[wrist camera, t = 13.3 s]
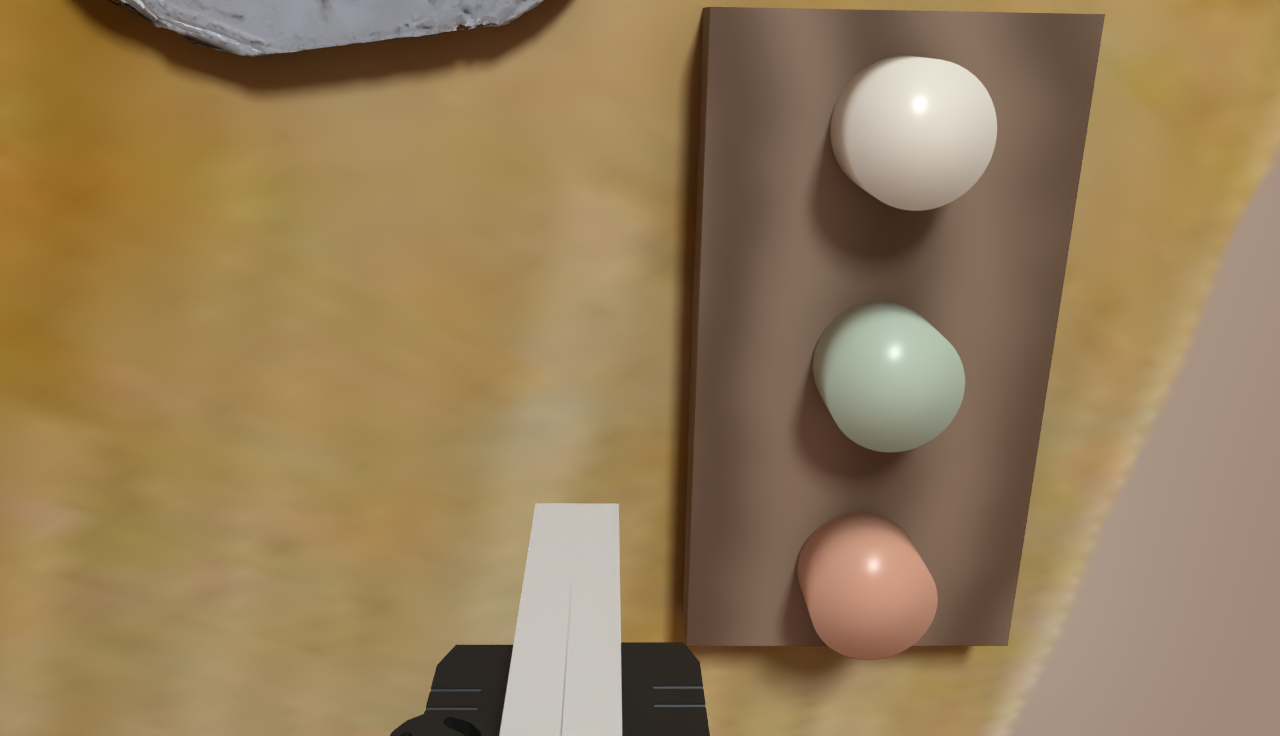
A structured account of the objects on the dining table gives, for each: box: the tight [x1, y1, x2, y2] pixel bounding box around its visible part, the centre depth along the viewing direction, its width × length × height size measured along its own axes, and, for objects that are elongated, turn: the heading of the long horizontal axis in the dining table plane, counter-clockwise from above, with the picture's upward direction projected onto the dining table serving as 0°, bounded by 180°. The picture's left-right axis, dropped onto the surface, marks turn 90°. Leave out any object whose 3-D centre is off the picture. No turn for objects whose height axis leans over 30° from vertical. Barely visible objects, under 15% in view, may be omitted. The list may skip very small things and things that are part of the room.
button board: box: [682, 7, 1105, 646], centre depth 42 cm, size 14×26×3 cm, turn 179°
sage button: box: [813, 301, 965, 452], centre depth 39 cm, size 5×5×3 cm
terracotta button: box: [797, 513, 938, 660], centre depth 42 cm, size 5×5×3 cm
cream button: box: [830, 56, 997, 211], centre depth 36 cm, size 5×5×3 cm
